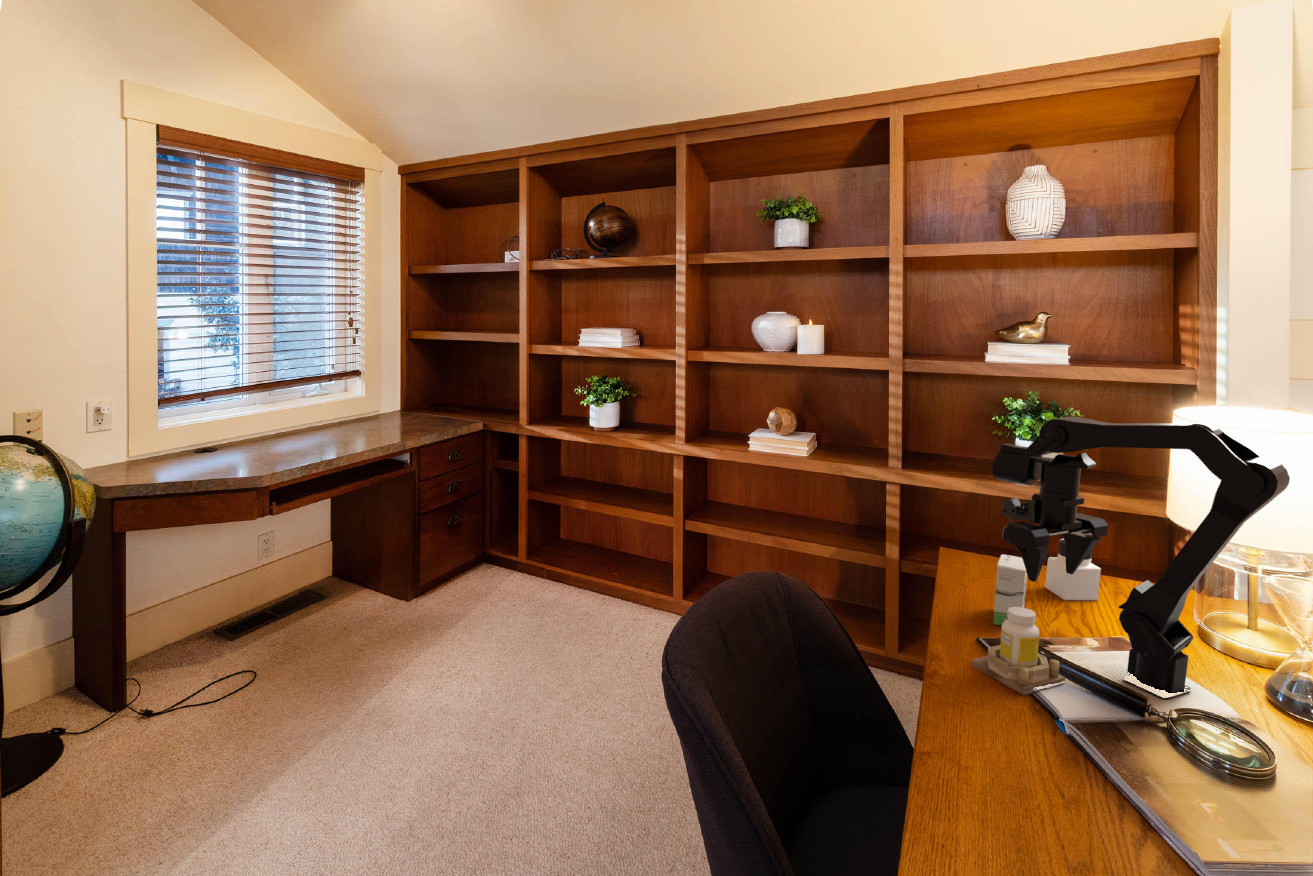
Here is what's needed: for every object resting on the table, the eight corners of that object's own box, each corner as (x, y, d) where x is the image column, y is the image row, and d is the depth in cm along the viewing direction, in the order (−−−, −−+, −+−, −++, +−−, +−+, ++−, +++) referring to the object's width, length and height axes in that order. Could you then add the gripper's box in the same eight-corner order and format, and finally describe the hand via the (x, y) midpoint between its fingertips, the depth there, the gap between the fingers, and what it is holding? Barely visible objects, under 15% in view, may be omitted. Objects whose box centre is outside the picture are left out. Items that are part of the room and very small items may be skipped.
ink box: (1021, 630, 123) (1026, 570, 122) (992, 624, 126) (996, 565, 124) (1024, 614, 131) (1028, 557, 129) (996, 608, 133) (1000, 553, 131)
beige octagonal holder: (1064, 683, 104) (1066, 663, 104) (1023, 695, 101) (1025, 674, 101) (1010, 655, 114) (1011, 637, 113) (971, 665, 110) (972, 646, 110)
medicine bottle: (1098, 600, 137) (1104, 545, 135) (1064, 600, 137) (1069, 545, 135) (1077, 587, 144) (1082, 535, 142) (1044, 588, 144) (1049, 535, 142)
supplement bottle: (1040, 667, 107) (1045, 611, 106) (1031, 680, 103) (1036, 621, 102) (1004, 657, 111) (1008, 602, 110) (994, 669, 107) (998, 612, 106)
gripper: (1054, 476, 123) (1047, 556, 126) (979, 485, 116) (973, 569, 119) (1113, 489, 113) (1105, 575, 115) (1036, 499, 106) (1028, 591, 109)
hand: (1051, 577), depth 115 cm, fingers open, 9 cm apart
